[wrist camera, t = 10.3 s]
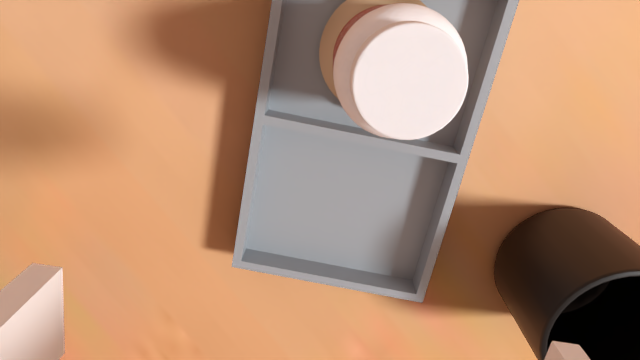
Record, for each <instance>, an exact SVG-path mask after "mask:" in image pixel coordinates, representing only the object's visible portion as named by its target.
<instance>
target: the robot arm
mask: <svg viewBox="0 0 640 360" xmlns="http://www.w3.org/2000/svg"><path fill="white" fill-rule="evenodd" d="M64 353H65V341H64V306H63V271H62V267H56V266H50V265H43V264H36V263H32V264H31V265H30V266H28V267H27V268H26V269H25V270H24V271H23V272H21V273H20V274H19V275H18V276H17V277H16V278H14V279H13V280H12V281H11V282H10V283H9V284H7V285H6V286H5V287H4V288H3V289H2V290H0V360H60V358H61V357H62V356H63V354H64ZM544 360H590V358H589V357H588V356H587V354H586V353H585V352H584V350H583V349H582V348H581V346H580V345H577V344H571V343H564V342H557V341H552V342H551V344H550V347H549V349H548V352H547V354H546V357H545V359H544Z"/></svg>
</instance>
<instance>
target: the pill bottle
mask: <svg viewBox="0 0 640 360" xmlns="http://www.w3.org/2000/svg"><path fill="white" fill-rule="evenodd" d="M468 78H469V76H468V65H467V55H466V51H465V48H464V44H463V42H462V39H461V37H460V36H459V34H458V32H457V31H456V29H455V28H454V26H453V25H452V24H451V23H450V22H449V21H448V20H447V19H446V18H445V17H443V16H442V15H441V14H439V13H438V12H436V11H434V10H432V9H430V8H427V7H424V6H421V5H417V4H411V3H394V4H387V5H378V6H374V7H370V8H368V9H365V10H363V11H361V12H360V13H358V14H356V15H355V16H354V17H353V18H351V19H350V20H349V21H348V22H347V23H346V25H345V26H344V27H343V28H342V30H341V32H340V33H339V35H338V37H337V40H336V43H335V46H334V50H333V80H334V86H335V90H336V93H337V96H338V99H339V101H340V103H341V105H342V107H343V109H344V110H345V112H346V113H347V115H348V116H349V117H350V118H351V119H352V120H353V121H354V122H355V123H356V124H357V125H358V126H360V127H361V128H363V129H364V130H366V131H368V132H370V133H372V134H375V135H377V136H380V137H385V138H392V139H399V140H414V139H420V138H423V137H426V136H429V135H431V134H434V133H435V132H437V131H439V130H440V129H442V128H443V127H444V126H446V125H447V124H448V123H449V122H450V121H451V120H452V119H453V118H454V116H455V115H456V114H457V113H458V111H459V109H460V108H461V106H462V104H463V101H464V99H465V96H466V93H467V89H468Z"/></svg>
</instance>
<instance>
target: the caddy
mask: <svg viewBox="0 0 640 360" xmlns="http://www.w3.org/2000/svg"><path fill="white" fill-rule="evenodd" d="M345 1H346V0H272V4H271V11H270V17H269V24H268V30H267V37H266V44H265V50H264V57H263V63H262V70H261V77H260V83H259V90H258V97H257V103H256V110H255V116H254V123H253V130H252V136H251V143H250V149H249V156H248V163H247V169H246V176H245V183H244V189H243V196H242V202H241V209H240V216H239V222H238V229H237V235H236V242H235V249H234V255H233V262H232V267H236V268H241V269H246V270H252V271H257V272H262V273H267V274H273V275H278V276H283V277H289V278H294V279H299V280H304V281H310V282H315V283H320V284H326V285H331V286H336V287H341V288H347V289H352V290H357V291H363V292H368V293H373V294H378V295H384V296H389V297H394V298H400V299H405V300H410V301H415V302H421V303H422V302H423V299H424V296H425V293H426V290H427V287H428V284H429V281H430V277H431V274H432V271H433V268H434V265H435V262H436V259H437V256H438V252H439V249H440V246H441V243H442V240H443V237H444V234H445V231H446V227H447V224H448V221H449V218H450V215H451V212H452V209H453V206H454V202H455V199H456V196H457V193H458V190H459V187H460V184H461V181H462V177H463V174H464V171H465V168H466V165H467V162H468V159H469V156H470V152H471V149H472V146H473V143H474V140H475V137H476V134H477V131H478V127H479V124H480V121H481V118H482V115H483V112H484V109H485V106H486V102H487V99H488V96H489V93H490V90H491V87H492V84H493V81H494V77H495V74H496V71H497V68H498V65H499V62H500V59H501V56H502V52H503V49H504V46H505V43H506V40H507V37H508V34H509V31H510V27H511V24H512V21H513V18H514V15H515V12H516V9H517V6H518V2H519V0H420V1H421V2H422V3H424V4H425V5H426V7H427V8H430V9H432V10H434V11H436V12H438V13H439V14H441V15H442V16H443V17H445V18H446V19H447V20H448V21H449V22H450V23H451V24H452V25H453V26H454V28H455V29H456V31H457V32H458V34H459V36H460V37H461V39H462V42H463V44H464V48H465V51H466V55H467V65H468V76H469V78H468V89H467V93H466V96H465V99H464V101H463V104H462V106H461V108H460V109H459V111H458V113H457V114H456V115H455V116H454V118H453V119H452V120H451V121H450V122H449V123H448V124H447V125H446V126H444V127H443V128H442V129H440V130H439V131H437V132H435V133H434V134H431V135H429V136H426V137H423V138H420V139H414V140H399V139H392V138H385V137H380V136H377V135H375V134H372V133H370V132H368V131H366V130H364V129H363V128H361V127H360V126H358V125H357V124H356V123H355V122H354V121H353V120H352V119H351V118H350V117H349V116H348V115H347V113H346V112H345V110H344V109H343V107H342V105H341V103H340V101H339V99H338V98H337V97H336V96H335V95H334V94H333V93H332V92H331V90H330V89H329V87H328V86H327V84H326V82H325V80H324V77H323V75H322V71H321V67H320V61H319V48H320V41H321V37H322V33H323V31H324V28H325V26H326V24H327V22H328V20H329V18H330V17H331V16H332V14H333V13H334V11H335V10H336V9H337V8H338V7H339V6H340V5H341V4H342V3H344V2H345Z"/></svg>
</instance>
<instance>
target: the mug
mask: <svg viewBox="0 0 640 360" xmlns="http://www.w3.org/2000/svg"><path fill="white" fill-rule="evenodd" d="M494 277H495V283H496V286H497V289H498V291H499V293H500V295H501V297H502V298H503V300H504V302H505V304H506V305H507V307H508V309H509V310H510V312H511V314H512V316H513V317H514V319H515V321H516V323H517V324H518V326H519V328H520V329H521V331H522V333H523V335H524V336H525V338H526V340H527V342H528V343H529V345H530V347H531V348H532V350H533V352H534V354H535V355H536V357H537V359H538V360H544V359H545V357H546V354H547V352H548V349H549V347H550V344H551V342H552V341H557V342H564V343H571V344H577V345H580V346H581V348H582V349H583V350H584V352H585V353H586V354H587V356H588V357H589V358H590V360H640V246H639V245H638V244H637V243H636V242H634V241H633V240H632V239H630V238H629V237H628V236H626V235H625V234H624V233H623V232H621V231H620V230H619V229H617V228H616V227H615V226H614V225H612V224H611V223H610V222H608V221H607V220H606V219H604V218H603V217H601V216H600V215H598V214H595V213H593V212H590V211H586V210H582V209H574V208H561V209H553V210H548V211H545V212H542V213H539V214H536V215H534V216H532V217H530V218H528V219H527V220H525V221H523V222H522V223H521V224H519V225H518V226H517V227H516V228H515V229H513V230H512V231H511V232H510V234H509V235H508V236H507V237H506V238H505V240H504V242H503V243H502V245H501V247H500V249H499V251H498V254H497V257H496V261H495V267H494Z"/></svg>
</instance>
